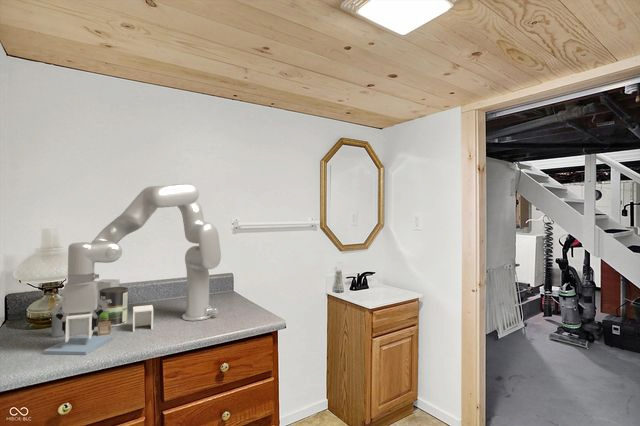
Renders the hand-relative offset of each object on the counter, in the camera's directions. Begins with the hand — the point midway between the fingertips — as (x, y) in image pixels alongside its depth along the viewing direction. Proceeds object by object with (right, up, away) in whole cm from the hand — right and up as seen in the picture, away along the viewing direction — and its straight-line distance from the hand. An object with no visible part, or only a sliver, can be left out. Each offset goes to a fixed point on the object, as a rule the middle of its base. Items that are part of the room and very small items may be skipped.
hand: (79, 330), depth 118 cm
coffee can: (-4, -6, +25) cm, 26 cm away
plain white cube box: (+11, -6, +20) cm, 24 cm away
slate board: (0, -5, 0) cm, 5 cm away
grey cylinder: (-15, -6, +10) cm, 19 cm away
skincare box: (-13, -6, +36) cm, 39 cm away
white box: (0, -2, 0) cm, 2 cm away
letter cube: (0, -6, +13) cm, 14 cm away
